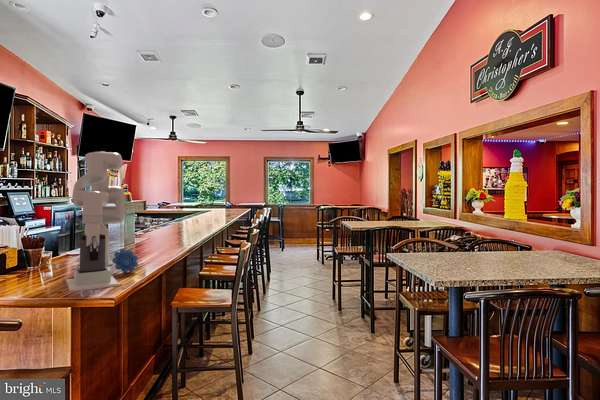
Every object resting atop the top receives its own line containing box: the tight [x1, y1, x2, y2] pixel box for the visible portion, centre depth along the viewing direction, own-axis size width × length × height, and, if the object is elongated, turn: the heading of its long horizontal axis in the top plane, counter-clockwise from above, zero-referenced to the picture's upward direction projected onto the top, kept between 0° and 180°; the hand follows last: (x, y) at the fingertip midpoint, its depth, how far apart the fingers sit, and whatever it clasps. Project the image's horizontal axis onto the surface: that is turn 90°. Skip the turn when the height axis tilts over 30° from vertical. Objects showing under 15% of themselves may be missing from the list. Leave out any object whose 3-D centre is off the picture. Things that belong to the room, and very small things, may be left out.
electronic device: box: [79, 234, 106, 273], centre depth 163 cm, size 9×6×20 cm, turn 129°
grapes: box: [111, 248, 139, 274], centre depth 183 cm, size 12×7×12 cm, turn 117°
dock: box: [65, 266, 120, 292], centre depth 163 cm, size 18×18×6 cm
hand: (92, 258), depth 163 cm, fingers open, 9 cm apart
